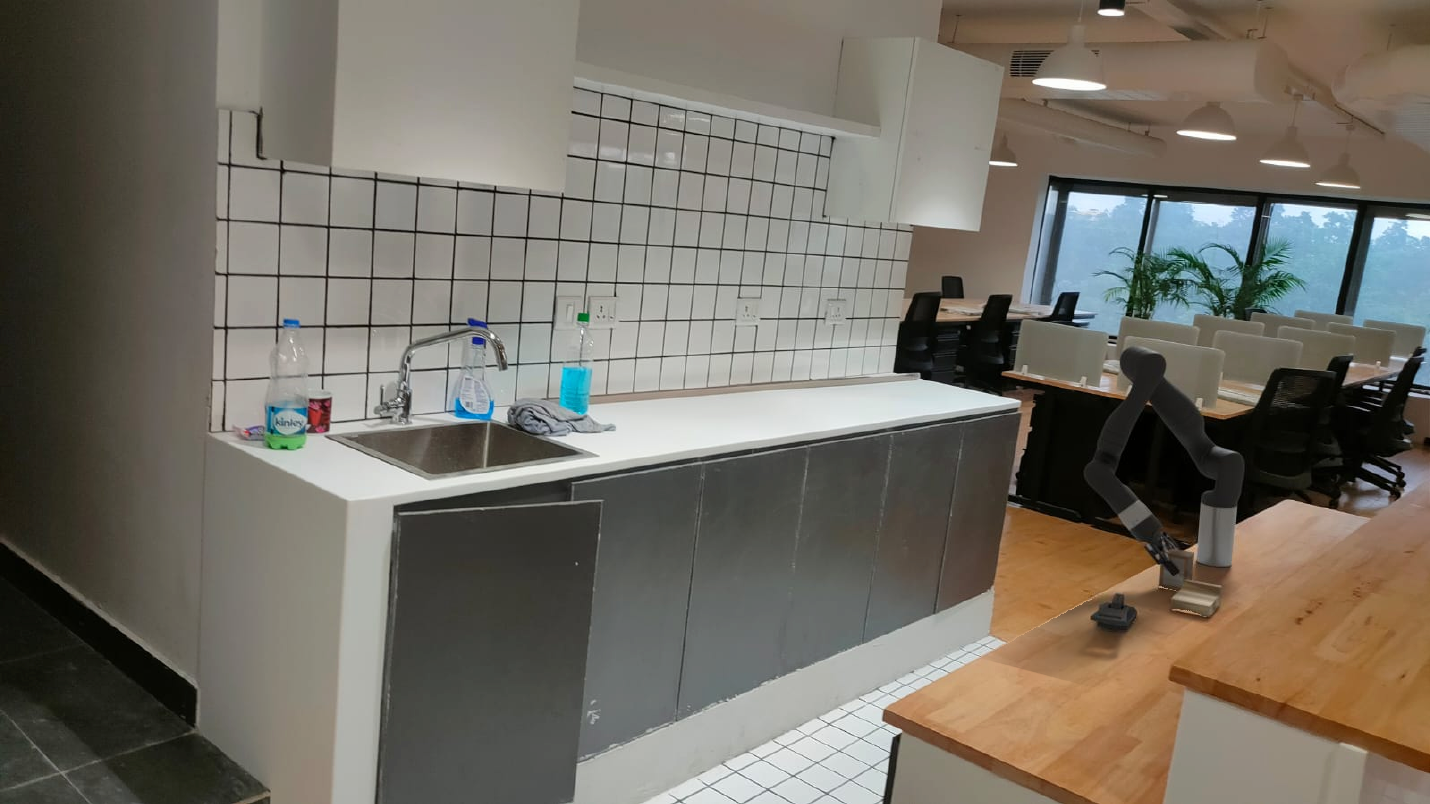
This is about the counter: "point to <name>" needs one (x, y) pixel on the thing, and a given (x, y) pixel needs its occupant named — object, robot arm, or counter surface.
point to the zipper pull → (1115, 615)
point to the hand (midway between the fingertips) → (1181, 570)
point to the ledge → (1197, 597)
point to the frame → (1183, 563)
